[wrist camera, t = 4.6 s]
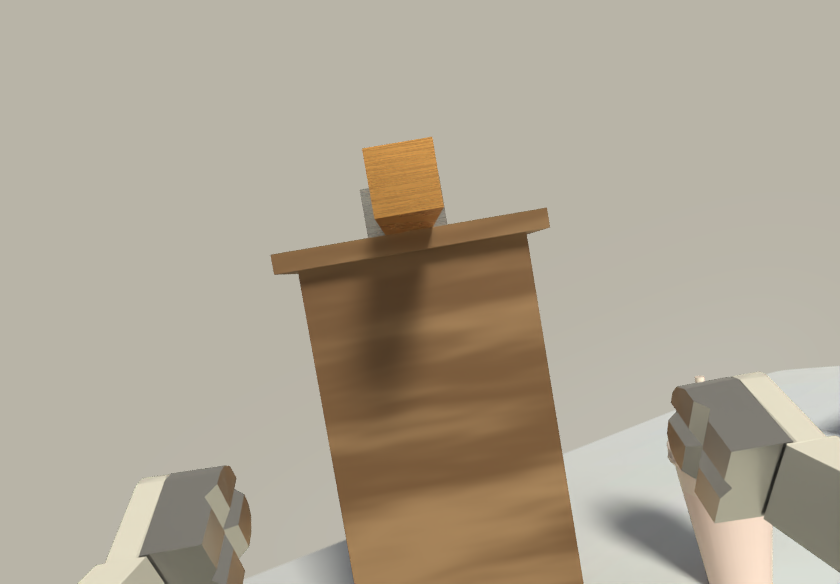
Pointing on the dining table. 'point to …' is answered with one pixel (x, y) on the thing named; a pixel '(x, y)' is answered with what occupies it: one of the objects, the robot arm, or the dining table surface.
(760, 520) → the smoothie
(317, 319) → the stand
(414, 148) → the mallet
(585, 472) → the dining table surface
